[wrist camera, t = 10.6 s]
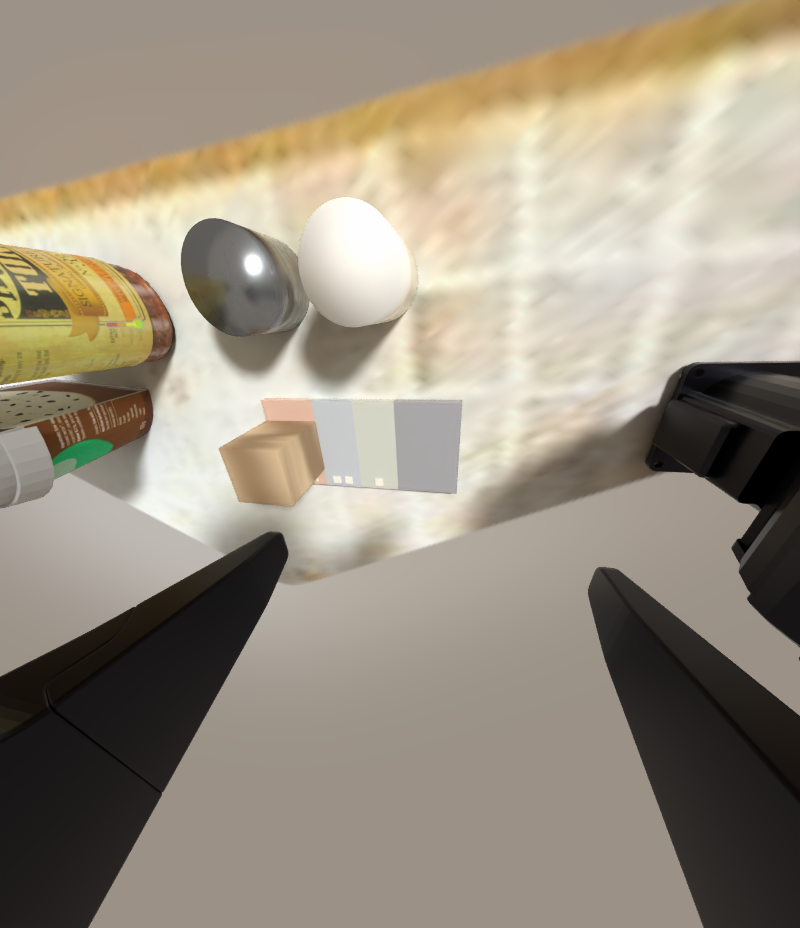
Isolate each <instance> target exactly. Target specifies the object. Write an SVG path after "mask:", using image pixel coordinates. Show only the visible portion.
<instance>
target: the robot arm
mask: <svg viewBox="0 0 800 928" xmlns="http://www.w3.org/2000/svg"><path fill="white" fill-rule="evenodd" d="M697 369H699V372H698V374H697V375H695V376H693V372H694V371H695V370H697ZM657 461H660V462H659V463H658V464H655V465H654V463H655V462H657ZM646 465H647V466H648V467H649V468H650V469H651V470H653V471H665V472H685V473H695V474H696V475H697V476H699V477H702V478H705V479H707V480H708V481H709V482H711V483H712V484H714V485H715V486H716V487H718V488H719V489H721V490H722V491H724V492H725V493H727V494H728V495H729V496H731V497H732V498H734V499H735V500H737V501H738V502H740V503H745V504H749V505H751V506H752V507H753V508H755V509H756V510H758V511H759V514H758V515H757V517H756V518H755V520H754V521H753V522H752V524H751V525H750V527H749V528H748V530H747V531H746V533H745V534H744V535H743V537H742V538H741V539H737V540H736V542H735V543H734V544H733V546H732V550H733V552H734V554H735V556H736V558H737V560H738V562H739V563H740V568H739V573H740V575H741V577H742V579H743V581H744V583H745V585H746V587H747V589H748V590H749V591H750V594H749V596H748V597H747V599H748V601H749V603H750V604H751V605H752V606H753V607H754V608H755V609H756V610H757V611H758V612H759V613H760V614H761V615H762V616H763V617H764V618H765V619H766V620H767V621H768V622H769V623H770V624H771V625H772V626H773V627H775V628H776V629H777V630H778V631H780V632H781V633H782V634H784V635H785V636H786V637H787V638H788V639H790V640H791V641H792V642H794V643H795V644H797V645H798V646H799V647H800V361H759V362H696V363H692V364H690V365H688V366H687V367H686V368H685V369H684V371H683V372H682V375H681V377H680V380H679V382H678V384H677V387H676V389H675V392H674V394H673V397H672V399H671V401H670V402H669V403H668V404H667V407H666V409H665V412H664V414H663V417H662V419H661V422H660V424H659V426H658V429H657V431H656V434H655V436H654V439H653V445H652V448H651V450H650V452H649V455H648V457H647V460H646ZM287 558H288V549H287V545H286V542H285V539H284V536H283V534H282V533H280V532H272V531H271V532H267V533H265V534H263V535H261V536H260V537H258V538H256V539H254V540H252V541H251V542H249V543H247V544H245V545H244V546H242V547H240V548H238V549H236V550H235V551H233V552H231V553H229V554H227V555H226V556H224V557H222V558H221V559H219V560H217V561H215V562H213V563H211V564H210V565H208V566H206V567H204V568H202V569H201V570H199V571H197V572H195V573H193V574H192V575H190V576H188V577H186V578H185V579H183V580H181V581H180V582H178V583H176V584H174V585H172V586H170V587H169V588H167V589H165V590H163V591H161V592H160V593H158V594H156V595H154V596H152V597H151V598H149V599H147V600H145V601H143V602H142V603H140V604H138V605H137V606H136V607H133V608H131V609H129V610H127V611H125V612H124V613H122V614H120V615H119V616H117V617H115V618H113V619H111V620H109V621H107V622H106V623H104V624H102V625H100V626H98V627H96V628H95V629H93V630H91V631H89V632H87V633H85V634H83V635H81V636H79V637H77V638H75V639H73V640H72V641H70V642H68V643H66V644H64V645H62V646H60V647H58V648H56V649H54V650H52V651H50V652H48V653H46V654H44V655H42V656H40V657H38V658H36V659H34V660H32V661H30V662H28V663H26V664H24V665H22V666H20V667H18V668H16V669H14V670H12V671H10V672H8V673H6V674H5V675H2V676H1V677H0V928H88V927H89V925H90V923H91V922H92V920H93V918H94V916H95V915H96V913H97V911H98V909H99V907H100V905H101V904H102V902H103V900H104V898H105V897H106V895H107V893H108V891H109V889H110V887H111V886H112V884H113V882H114V880H115V879H116V876H117V875H118V873H119V871H120V869H121V868H122V866H123V864H124V862H125V861H126V859H127V857H128V855H129V853H130V852H131V850H132V848H133V846H134V844H135V843H136V841H137V839H138V837H139V835H140V834H141V832H142V830H143V828H144V826H145V824H146V823H147V821H148V819H149V817H150V816H151V814H152V812H153V810H154V808H155V807H156V805H157V803H158V801H159V799H160V798H161V796H162V792H163V791H164V790H165V788H166V786H167V785H168V783H169V781H170V779H171V777H172V775H173V774H174V772H175V770H176V768H177V766H178V765H179V763H180V761H181V759H182V757H183V755H184V754H185V752H186V750H187V748H188V747H189V745H190V743H191V741H192V739H193V738H194V736H195V734H196V732H197V730H198V729H199V727H200V725H201V723H202V721H203V719H204V718H205V716H206V714H207V712H208V711H209V709H210V707H211V705H212V703H213V701H214V700H215V698H216V696H217V694H218V693H219V691H220V689H221V687H222V685H223V684H224V682H225V680H226V678H227V676H228V675H229V673H230V671H231V669H232V667H233V666H234V664H235V662H236V660H237V658H238V657H239V655H240V653H241V651H242V649H243V648H244V646H245V644H246V642H247V640H248V639H249V637H250V635H251V633H252V631H253V630H254V628H255V626H256V624H257V622H258V620H259V619H260V617H261V615H262V613H263V612H264V609H265V608H266V606H267V604H268V602H269V599H270V597H271V595H272V593H273V591H274V588H275V586H276V584H277V582H278V579H279V577H280V575H281V572H282V570H283V568H284V566H285V563H286V561H287ZM588 595H589V600H590V605H591V608H592V612H593V616H594V620H595V624H596V628H597V631H598V635H599V640H600V643H601V647H602V651H603V655H604V658H605V661H606V663H607V667H608V670H609V673H610V675H611V678H612V681H613V684H614V686H615V689H616V692H617V694H618V697H619V700H620V702H621V705H622V708H623V711H624V713H625V716H626V719H627V721H628V724H629V726H630V729H631V732H632V735H633V738H634V740H635V743H636V746H637V749H638V751H639V754H640V757H641V759H642V762H643V765H644V767H645V770H646V773H647V776H648V778H649V781H650V784H651V786H652V789H653V792H654V795H655V797H656V800H657V803H658V805H659V808H660V811H661V813H662V816H663V819H664V822H665V824H666V827H667V830H668V832H669V835H670V838H671V841H672V843H673V846H674V848H675V851H676V854H677V857H678V860H679V862H680V865H681V868H682V870H683V873H684V875H685V878H686V881H687V884H688V886H689V889H690V892H691V895H692V897H693V900H694V903H695V906H696V908H697V911H698V914H699V916H700V919H701V922H702V924H703V927H704V928H800V716H799V715H798V714H797V713H795V712H794V711H793V710H792V709H790V708H789V707H788V706H787V705H785V704H784V703H783V702H782V701H780V700H779V699H778V698H777V697H776V696H774V695H773V694H772V693H771V692H769V691H768V690H767V689H766V688H764V687H763V686H762V685H760V684H759V683H758V682H757V681H756V680H754V679H753V678H752V677H751V676H749V675H748V674H747V673H745V672H744V671H743V670H742V669H741V668H739V667H738V666H737V665H736V664H735V663H733V662H732V661H731V660H730V659H728V658H727V657H726V656H725V655H723V654H722V653H721V652H720V651H718V650H717V649H716V648H715V647H713V646H712V645H711V644H709V643H708V642H707V641H706V640H705V639H704V638H702V637H701V636H700V635H698V634H697V633H696V632H694V630H692V629H691V628H690V627H689V626H687V625H686V624H685V623H684V622H682V621H681V620H680V619H679V618H677V617H676V616H675V615H673V614H672V613H671V612H670V611H669V610H667V609H666V608H665V607H664V606H663V605H661V604H660V603H659V602H658V601H656V600H655V599H654V598H652V597H651V596H650V595H649V594H648V593H646V592H645V591H644V590H643V589H641V588H640V587H639V586H638V585H636V584H635V583H634V582H633V581H631V580H630V579H629V578H628V577H626V576H625V575H624V574H623V573H622V572H620V571H619V570H617V569H614V568H607V567H598V568H597V569H596V570H595V573H594V575H593V578H592V580H591V583H590V585H589V589H588ZM799 660H800V657H799Z"/></svg>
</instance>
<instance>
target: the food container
mask: <svg viewBox="0 0 800 928" xmlns="http://www.w3.org/2000/svg"><path fill="white" fill-rule="evenodd" d="M152 420H153V406H152V401H151V397H150V394H149V391H148V390H147V389H138V388H129V387H121V386H112V385H103V384H94V383H85V382H76V381H67V380H58V379H53V380H46V381H40V382H33V383H27V384H20V385H14V386H7V387H1V388H0V508H6V507H9V506H13V505H17V504H20V503H24V502H28V501H31V500H35V499H38V498H41V497H44V496H45V495H46V494H47V493H48V492H49V491H50V490H51V488H52V486H53V481H54V479H56V478H58V477H60V476H62V475H64V474H67V473H69V472H71V471H73V470H75V469H77V468H79V467H81V466H83V465H85V464H87V463H89V462H91V461H93V460H95V459H97V458H99V457H101V456H103V455H105V454H107V453H109V452H111V451H113V450H115V449H117V448H119V447H121V446H123V445H125V444H127V443H129V442H131V441H133V440H135V439H137V438H139V437H141V436H143V435H144V434H146V433H147V432H148V430H149V429H150V427H151V424H152Z"/></svg>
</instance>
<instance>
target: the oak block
mask: <svg viewBox="0 0 800 928" xmlns="http://www.w3.org/2000/svg"><path fill="white" fill-rule="evenodd" d="M219 451H220V454H221V456H222V459H223V461H224V464H225V466H226V469H227V472H228V474H229V477H230V479H231V482H232V485H233V487H234V490H235V492H236V495H237V498H238V500H239V502H246V503H258V504H271V505H283V506H294V505H295V503H296V502H297V501H298V500H299V499H300V498H301V496H302V495H303V494H304V493H305V492H306V490H307V489H308V488H309V487H310V486H311V485H312V483H313V482H314V481H315V480H316V479H317V478H318V476H319V475H320V474H321V473H322V472H323V471H324V469H325V467H324V462H323V457H322V452H321V447H320V442H319V437H318V432H317V427H316V422H315V421H265V422H263V423H262V424H260V425H258V426H256V427H255V428H253V429H251V430H250V431H248V432H246V433H244V434H243V435H241V436H239V437H237V438H236V439H234V440H232V441H230V442H229V443H227V444H225V445H223V446H222V447H220V448H219Z"/></svg>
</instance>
